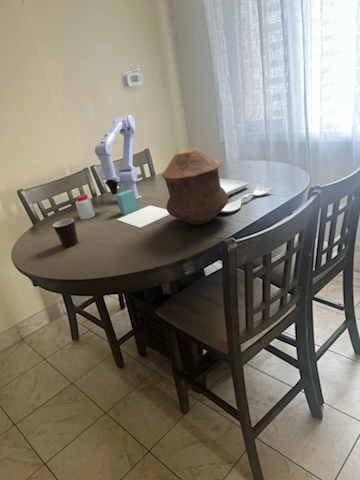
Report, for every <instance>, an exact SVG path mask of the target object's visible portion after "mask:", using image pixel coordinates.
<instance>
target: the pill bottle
mask: <svg viewBox="0 0 360 480" xmlns="http://www.w3.org/2000/svg"><path fill="white" fill-rule="evenodd" d="M75 199H76V201H75V207H76V210H77V213H78V215H79V219H80V220H88V219H92V218H94V217H95V216H96V211H95V208H94V206H93V203H92V199H91V198H90V197H88V194H86V193H85V194H80V195H79V194H78V196H76V197H75Z"/></svg>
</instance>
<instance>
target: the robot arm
mask: <svg viewBox="0 0 360 480" xmlns="http://www.w3.org/2000/svg"><path fill="white" fill-rule="evenodd" d="M112 123H113V125H112V126H111V128H110V130H109V132H106V133H105V134H104V136H103V138H102V140H101V141H100V142H99V143H98V144H96V145H95V147H94V148H95V149H94V153H95V155H96V156H97V158H98V160H99V162H100V163H101V164H100V165H101V168H102V172H103V175H101V177H102V180H103V181H105V182H104V184H105V185H106V186H107V187H108V189H109V191H110V193H111V194H112V195H117V194H118V185H119V184H120V186H119V187H120V188H119V189H120V193H122V192H125V191H127V190H134V193H135V197H136V200H138V199H140V198H142V197H143V195H139V193H138V187H137V184H136V182H137V181H138V171H137V167H135V166H134V165H133V162H134V161H133V159H134V158H133V157H134V139H135V138H134V137H135V133H136V121H135V118H134V116H133V115H131V114H129V115H123V116H116V117H114V119H113V121H112ZM119 133H120V135H122V136H123V148H122V149H123V151H122V165H121V166H120V167H119V168H118V171H117V173H116V171H115V165H114V162H113V158H112V154H113V147H114V145H115V143H116V141H117V135H119Z"/></svg>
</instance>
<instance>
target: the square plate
mask: <svg viewBox="0 0 360 480" xmlns="http://www.w3.org/2000/svg"><path fill="white" fill-rule="evenodd" d="M219 181H220V186H221V187H222V188H223V189H224V191H225V192H226V194H227V196H228V197H229V196H230V195H233V194H235V193H237V192H239V191H241V190H243V189H245V188H246V187H248V186H249V184H250V182H249V181H241V180H234V179H227V178H219Z"/></svg>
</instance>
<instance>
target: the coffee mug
mask: <svg viewBox="0 0 360 480" xmlns="http://www.w3.org/2000/svg"><path fill="white" fill-rule="evenodd" d="M52 227H53V229H54V231H55V233H56V235H57V238H58V239H59V242H60V244H61V245H62V247H63V248H65V249H66V248H67V249H68V248H71V247H74V246H76V245H77V244H79V241H78V240H79V239H78V234H77V230H76V229H77V228H76V224H75V220H74V218H65V219H61V220H59V221H56V222H54V223H53V224H52Z"/></svg>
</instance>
